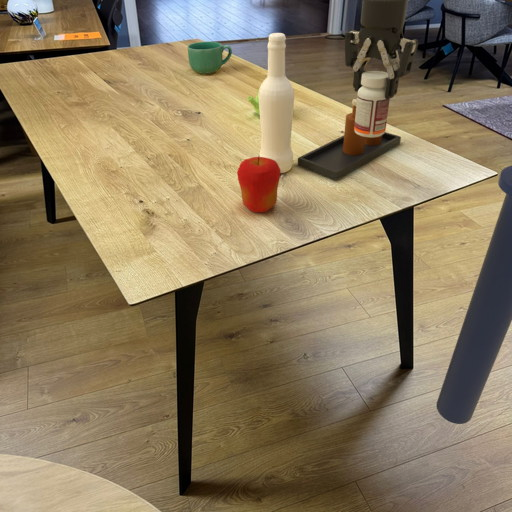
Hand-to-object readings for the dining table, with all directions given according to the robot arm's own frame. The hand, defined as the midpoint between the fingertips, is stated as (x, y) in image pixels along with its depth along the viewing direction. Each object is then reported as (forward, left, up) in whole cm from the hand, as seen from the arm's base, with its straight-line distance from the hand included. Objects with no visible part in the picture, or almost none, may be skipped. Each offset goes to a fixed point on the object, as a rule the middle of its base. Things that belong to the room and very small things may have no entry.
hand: (373, 93), depth 91 cm
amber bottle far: (+14, -24, -21) cm, 35 cm away
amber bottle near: (+14, -16, -21) cm, 30 cm away
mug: (+97, -41, -22) cm, 107 cm away
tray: (+14, -15, -22) cm, 30 cm away
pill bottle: (0, 0, -8) cm, 8 cm away
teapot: (+48, -22, -22) cm, 57 cm away
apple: (+13, +19, -22) cm, 32 cm away
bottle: (+23, +3, -22) cm, 32 cm away
